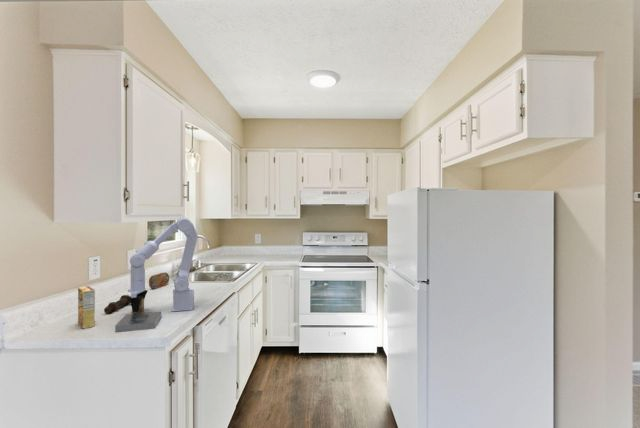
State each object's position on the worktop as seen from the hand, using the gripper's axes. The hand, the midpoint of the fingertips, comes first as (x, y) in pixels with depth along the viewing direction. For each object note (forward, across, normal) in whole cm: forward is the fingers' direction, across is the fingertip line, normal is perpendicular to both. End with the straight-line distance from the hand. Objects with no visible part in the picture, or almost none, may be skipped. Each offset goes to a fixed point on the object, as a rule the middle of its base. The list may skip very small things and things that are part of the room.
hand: (138, 309), depth 144 cm
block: (+2, 0, 0) cm, 2 cm away
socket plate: (+2, +14, +4) cm, 15 cm away
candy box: (+2, +9, -17) cm, 19 cm away
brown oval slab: (+3, -53, -1) cm, 53 cm away
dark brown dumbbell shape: (+3, -11, -12) cm, 16 cm away
